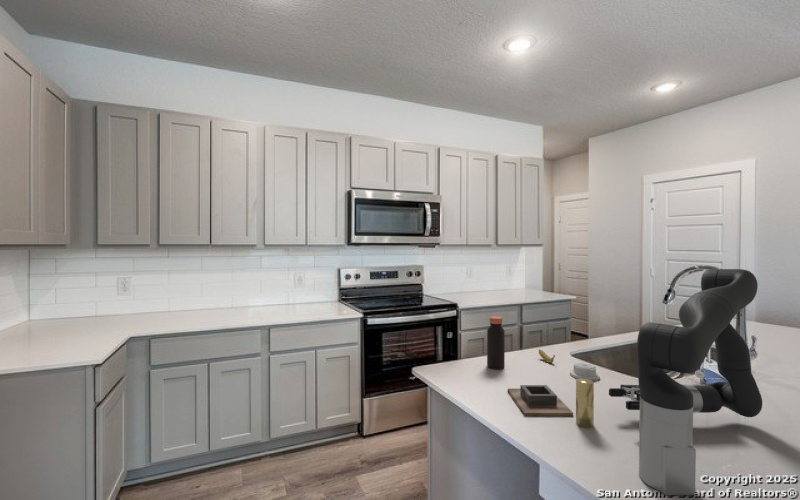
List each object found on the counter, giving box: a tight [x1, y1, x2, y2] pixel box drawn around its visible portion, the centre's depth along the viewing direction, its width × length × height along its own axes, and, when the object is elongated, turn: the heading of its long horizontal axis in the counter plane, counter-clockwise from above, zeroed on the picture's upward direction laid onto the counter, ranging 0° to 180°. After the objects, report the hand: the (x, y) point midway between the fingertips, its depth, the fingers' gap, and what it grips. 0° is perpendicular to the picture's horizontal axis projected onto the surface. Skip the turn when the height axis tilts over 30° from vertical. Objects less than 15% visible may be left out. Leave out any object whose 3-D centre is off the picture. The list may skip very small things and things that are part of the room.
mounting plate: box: [507, 384, 574, 417], centre depth 120 cm, size 18×14×4 cm
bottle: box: [486, 315, 506, 370], centre depth 154 cm, size 7×7×20 cm
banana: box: [538, 349, 556, 364], centre depth 161 cm, size 10×2×4 cm, turn 15°
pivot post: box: [575, 379, 595, 429], centre depth 106 cm, size 4×4×12 cm
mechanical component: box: [569, 362, 601, 382], centre depth 143 cm, size 10×4×10 cm
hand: (617, 398), depth 106 cm, fingers open, 8 cm apart
